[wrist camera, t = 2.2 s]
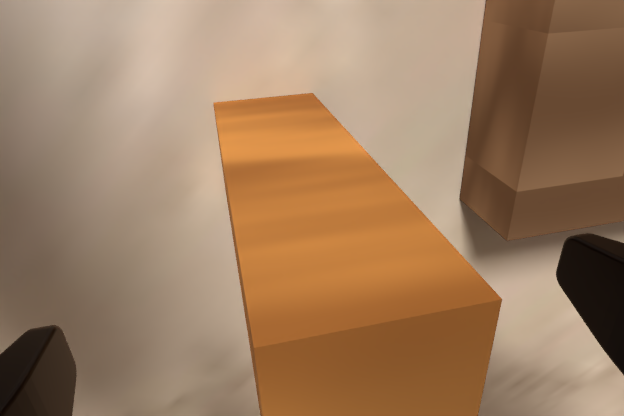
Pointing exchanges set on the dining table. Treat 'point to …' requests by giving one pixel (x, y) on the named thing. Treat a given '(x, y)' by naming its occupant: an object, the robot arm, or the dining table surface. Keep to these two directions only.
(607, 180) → the socket board
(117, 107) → the dining table surface
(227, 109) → the peg
